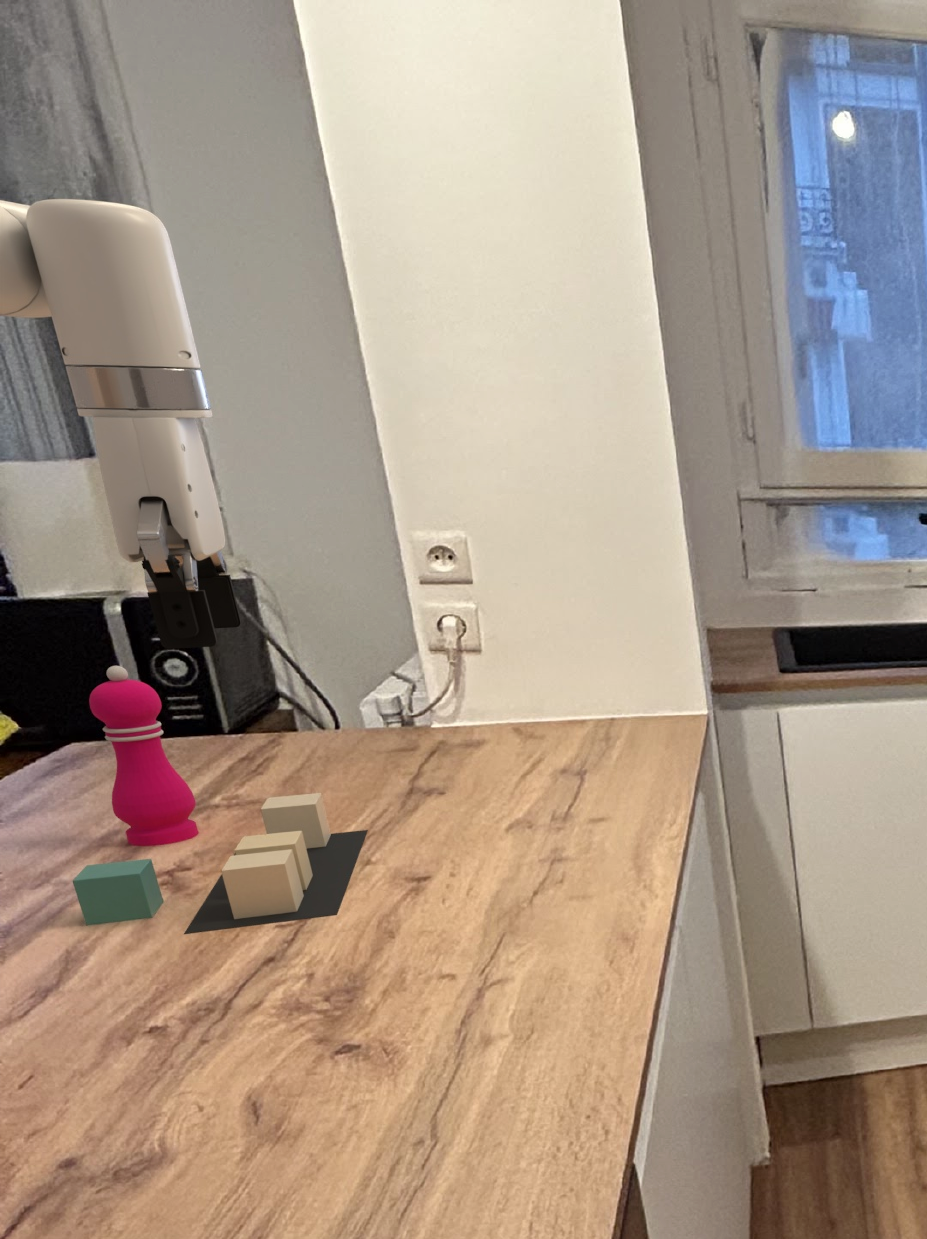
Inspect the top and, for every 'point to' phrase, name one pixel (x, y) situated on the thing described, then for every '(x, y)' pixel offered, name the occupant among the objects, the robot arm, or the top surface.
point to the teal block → (118, 891)
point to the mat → (319, 898)
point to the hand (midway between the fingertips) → (204, 636)
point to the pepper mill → (142, 763)
